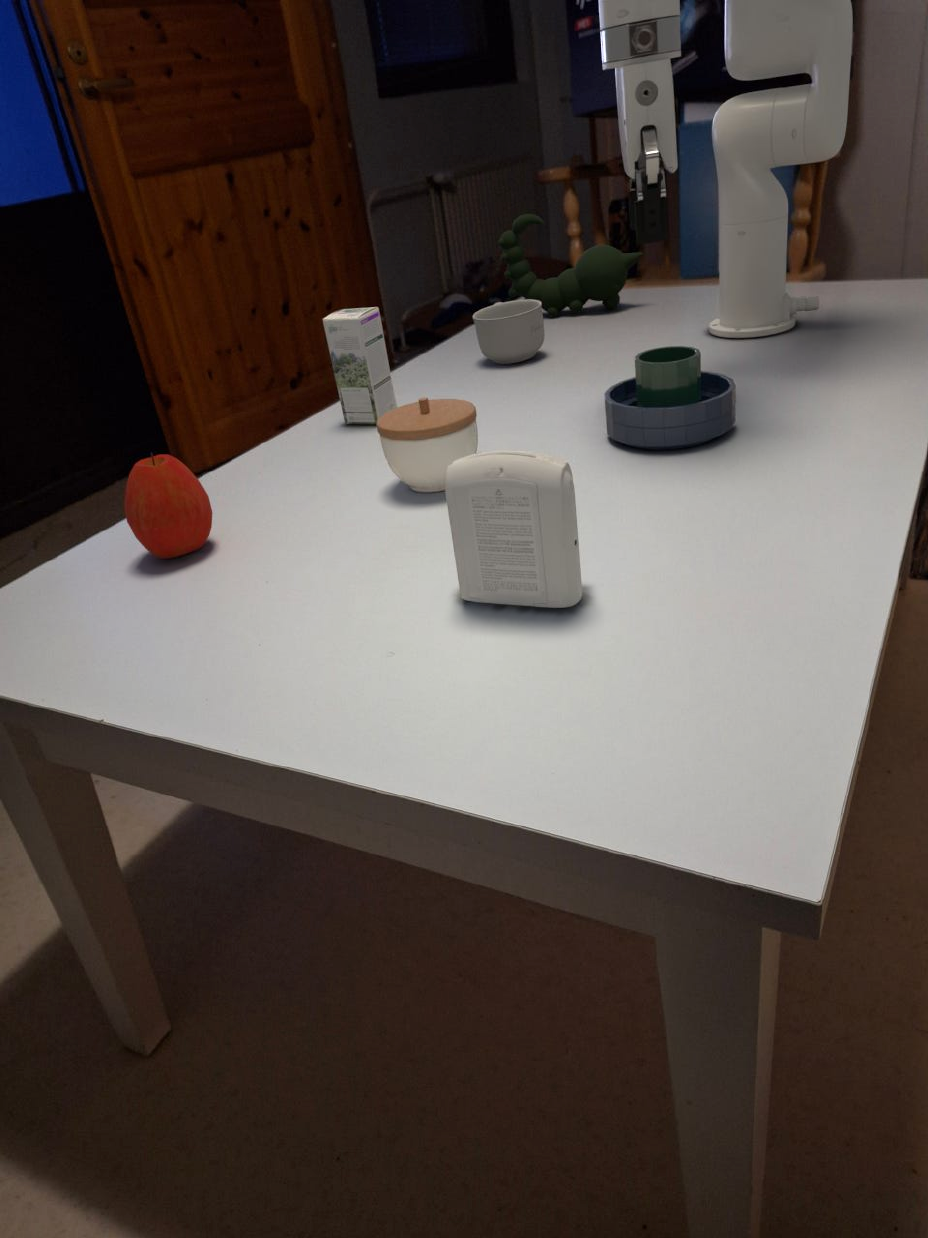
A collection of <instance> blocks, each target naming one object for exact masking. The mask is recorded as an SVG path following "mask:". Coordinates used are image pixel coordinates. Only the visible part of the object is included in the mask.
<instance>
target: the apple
mask: <svg viewBox="0 0 928 1238" xmlns="http://www.w3.org/2000/svg"><path fill="white" fill-rule="evenodd" d="M210 501H211V500H210V497H209V495H208V493H207V491H206V489H205V488H204V486H203V484H202V483H201V481H200V479H198V477H197V476H196V475H195V474H194V473H193V472H192V470H191V469H190V468H189V467H188V466H186V464H184V463H183V462H182V461H181V460H179V459H178V458H176V457H174V456H173V455H171V454H167V453H166V454H157V455H154V454H153V452H150V457H147V458H143V459H140V460H139V461H137V462H135V464H134V465H133V467H132V469H131V471H130V472H129V473H128V478H127V482H126V486H125V497H124V505H123V508H124V513H125V517H126V523H127V524H128V526H129V528H130V530H131V531H132V533H133V535H134V537H135V538H136V540H137V541H138V542H139V543H140V544H141V546H143V547H144V549H145V550H146V551H147V552H148V553H150V554H152V555H153V556H154V557H155V558H158V559H163V560H164V559H165V560H167V559H173V558H177V557H181V556H185V555H188V554H190V553H192V552H195V551H197V550H199V549H200V548H201V547H203V546H204V545H205V544H206V542H207V540H208V538H209V536H210V534H211V530H212V528H213V527H212V526H213V509H212V505H211V502H210Z"/></svg>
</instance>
